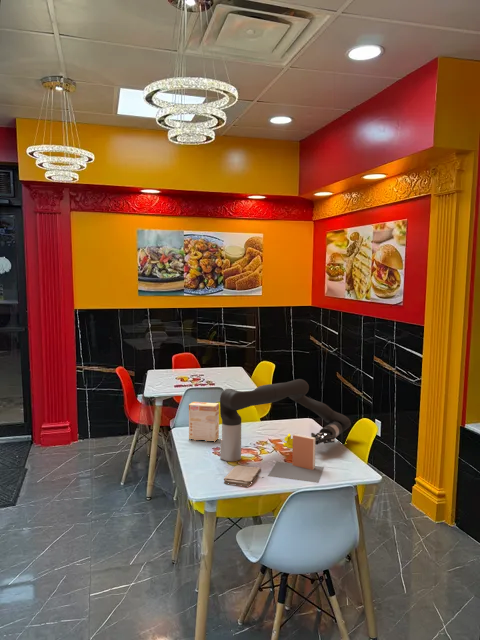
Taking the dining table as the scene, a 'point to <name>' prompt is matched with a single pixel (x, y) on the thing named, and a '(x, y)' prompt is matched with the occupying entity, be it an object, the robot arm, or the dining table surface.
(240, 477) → the washcloth
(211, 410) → the coffeecake box
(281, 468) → the mat
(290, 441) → the crumpled paper
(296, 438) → the tile
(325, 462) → the dining table surface
